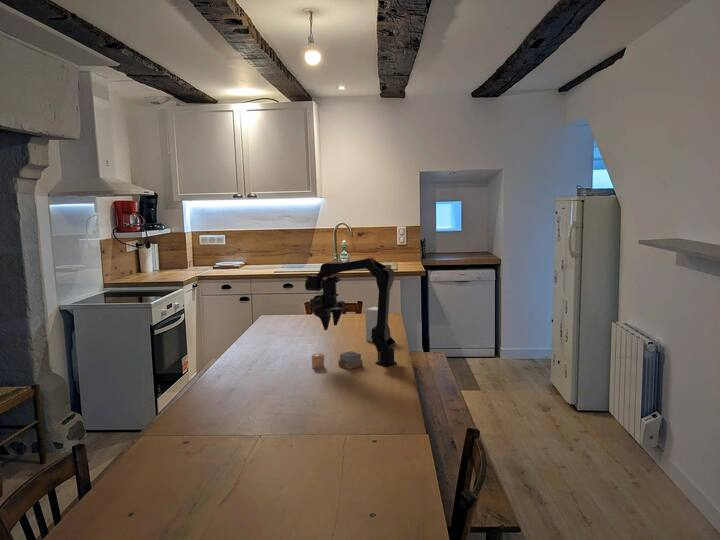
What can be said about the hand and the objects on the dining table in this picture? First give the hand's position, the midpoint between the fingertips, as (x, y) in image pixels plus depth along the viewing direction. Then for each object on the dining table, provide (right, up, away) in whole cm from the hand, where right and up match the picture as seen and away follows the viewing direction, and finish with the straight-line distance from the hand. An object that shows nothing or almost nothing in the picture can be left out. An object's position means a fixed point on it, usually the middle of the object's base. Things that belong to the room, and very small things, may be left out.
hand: (330, 327), depth 231 cm
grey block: (+9, -12, -10) cm, 18 cm away
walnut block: (+9, -15, -10) cm, 20 cm away
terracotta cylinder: (-4, -15, -11) cm, 19 cm away
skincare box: (+20, -9, +29) cm, 36 cm away
